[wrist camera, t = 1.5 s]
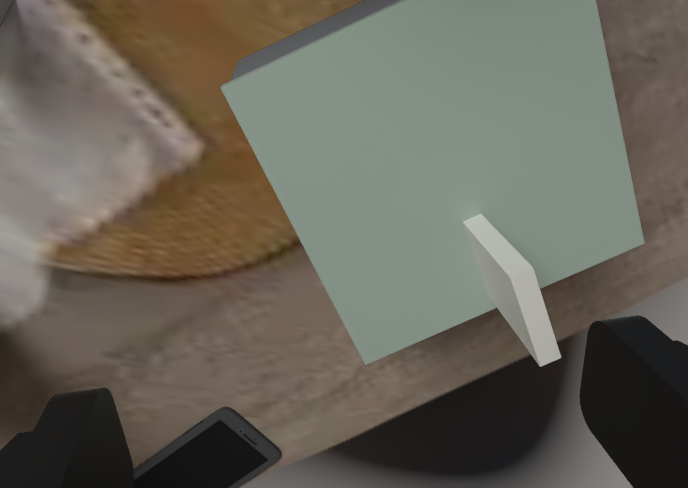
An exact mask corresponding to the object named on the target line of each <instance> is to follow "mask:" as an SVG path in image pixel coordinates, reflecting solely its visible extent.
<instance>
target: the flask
mask: <svg viewBox="0 0 688 488" xmlns="http://www.w3.org/2000/svg"><path fill="white" fill-rule="evenodd" d="M11 3H12V0H0V25H1V23H2V21H3V19H4V17H5V15H6V13H7V11H8V9H9V7H10V5H11Z"/></svg>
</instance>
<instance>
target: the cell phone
mask: <svg viewBox="0 0 688 488" xmlns="http://www.w3.org/2000/svg"><path fill="white" fill-rule="evenodd" d="M280 456H281V452H280V450H279V448H278V447H277V446H276V445H275V444H274V443H272V442H271V441H270V440H269V439H268V438H267V437H265V436H264V435H263V434H262V433H261V432H259V431H258V430H257V429H256V428H255V427H254V426H252V425H251V424H250V423H249V422H248V421H247V420H245V419H244V418H243V417H242V416H241V415H240V414H238V413H237V412H236V411H235V410H233V409H232V408H229V407H223V408H220V409H219V410H217V411H216V412H214V413H212V414H211V415H209V416H208V417H207V418H205V419H204V420H202V421H201V422H200V423H198V424H197V425H195V426H194V427H193V428H191V429H190V430H188V431H187V432H186V433H184V434H183V435H181V436H180V437H179V438H177V439H176V440H174V441H173V442H172V443H170V444H169V445H167V446H166V447H165V448H163V449H162V450H160V451H159V452H158V453H156V454H155V455H154V456H152V457H151V458H149V459H148V460H147V461H145V462H144V463H142V464H141V465H140V466H138V467H137V468H135V469H134V470H133V471H134V488H239V487H240V486H241V485H243V484H244V483H246V482H247V481H249V480H250V479H252V478H253V477H255V476H256V475H258V474H259V473H261V472H262V471H264V470H265V469H266V468H268V467H269V466H271V465H272V464H273V463H275V462H276V461H277V460H278V459H279V458H280Z"/></svg>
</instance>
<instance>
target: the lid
mask: <svg viewBox="0 0 688 488" xmlns="http://www.w3.org/2000/svg"><path fill="white" fill-rule="evenodd" d="M221 90H222V92H223V94H224V95H225V97H226V99H227V101H228V103H229V105H230V107H231V109H232V111H233V113H234V115H235V117H236V118H237V120H238V122H239V124H240V126H241V128H242V130H243V132H244V134H245V136H246V138H247V139H248V141H249V143H250V145H251V147H252V149H253V151H254V153H255V155H256V157H257V159H258V161H259V162H260V164H261V166H262V168H263V170H264V172H265V174H266V176H267V178H268V180H269V182H270V183H271V185H272V187H273V189H274V191H275V193H276V195H277V197H278V199H279V201H280V203H281V205H282V206H283V208H284V210H285V212H286V214H287V216H288V218H289V220H290V222H291V224H292V226H293V227H294V229H295V231H296V233H297V235H298V237H299V239H300V241H301V243H302V245H303V247H304V249H305V250H306V252H307V254H308V256H309V258H310V260H311V262H312V264H313V266H314V268H315V270H316V271H317V273H318V275H319V277H320V279H321V281H322V283H323V285H324V287H325V289H326V291H327V293H328V294H329V296H330V298H331V300H332V302H333V304H334V306H335V308H336V310H337V312H338V314H339V315H340V317H341V319H342V321H343V323H344V325H345V327H346V329H347V331H348V333H349V335H350V337H351V338H352V340H353V342H354V344H355V346H356V348H357V350H358V352H359V354H360V356H361V358H362V359H363V361H364V363H365V365H366V364H369V363H371V362H373V361H376V360H378V359H380V358H382V357H385V356H387V355H389V354H392V353H394V352H396V351H399V350H401V349H403V348H405V347H408V346H410V345H412V344H415V343H417V342H419V341H422V340H424V339H426V338H428V337H431V336H433V335H435V334H438V333H440V332H442V331H445V330H447V329H449V328H451V327H454V326H456V325H458V324H461V323H463V322H465V321H467V320H470V319H472V318H474V317H477V316H479V315H481V314H484V313H486V312H488V311H490V310H493V309H495V308H498V310H499V311H500V312H501V314H502V315H503V316H504V318H505V319H506V321H507V322H508V323H509V325H510V326H511V327H512V329H513V330H514V332H515V333H516V334H517V336H518V337H519V338H520V340H521V341H522V342H523V344H524V345H525V347H526V348H527V349H528V351H529V352H530V353H531V355H532V356H533V357H534V359H535V360H536V362H537V363H538V364H539V366H540V367H541V366H543V365H546V364H548V363H550V362H552V361H555V360H557V359H559V358H561V355H560V352H559V349H558V346H557V342H556V339H555V336H554V333H553V329H552V326H551V323H550V320H549V317H548V313H547V310H546V307H545V304H544V301H543V297H542V294H541V291H540V289H541V288H543V287H546V286H548V285H550V284H552V283H555V282H557V281H559V280H562V279H564V278H566V277H569V276H571V275H573V274H575V273H578V272H580V271H582V270H585V269H587V268H589V267H591V266H594V265H596V264H598V263H601V262H603V261H605V260H608V259H610V258H612V257H614V256H617V255H619V254H621V253H624V252H626V251H628V250H631V249H633V248H635V247H637V246H640V245H642V244H644V238H643V233H642V228H641V223H640V218H639V213H638V208H637V203H636V198H635V193H634V188H633V183H632V178H631V173H630V168H629V163H628V158H627V153H626V148H625V143H624V138H623V133H622V128H621V123H620V118H619V113H618V108H617V103H616V98H615V93H614V88H613V83H612V78H611V73H610V68H609V63H608V58H607V54H606V49H605V44H604V39H603V34H602V29H601V24H600V19H599V14H598V9H597V4H596V0H400V1H398V2H396V3H394V4H392V5H390V6H388V7H386V8H384V9H381V10H379V11H377V12H375V13H373V14H371V15H369V16H367V17H365V18H362V19H360V20H358V21H356V22H354V23H352V24H350V25H348V26H346V27H344V28H341V29H339V30H337V31H335V32H333V33H331V34H329V35H327V36H325V37H322V38H320V39H318V40H316V41H314V42H312V43H310V44H308V45H306V46H304V47H301V48H299V49H297V50H295V51H293V52H291V53H289V54H287V55H285V56H282V57H280V58H278V59H276V60H274V61H272V62H270V63H268V64H266V65H263V66H261V67H259V68H257V69H255V70H253V71H251V72H249V73H247V74H245V75H242V76H240V77H238V78H236V79H234V80H232V81H230V82H228V83H226V84H223V85H222V86H221Z"/></svg>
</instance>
